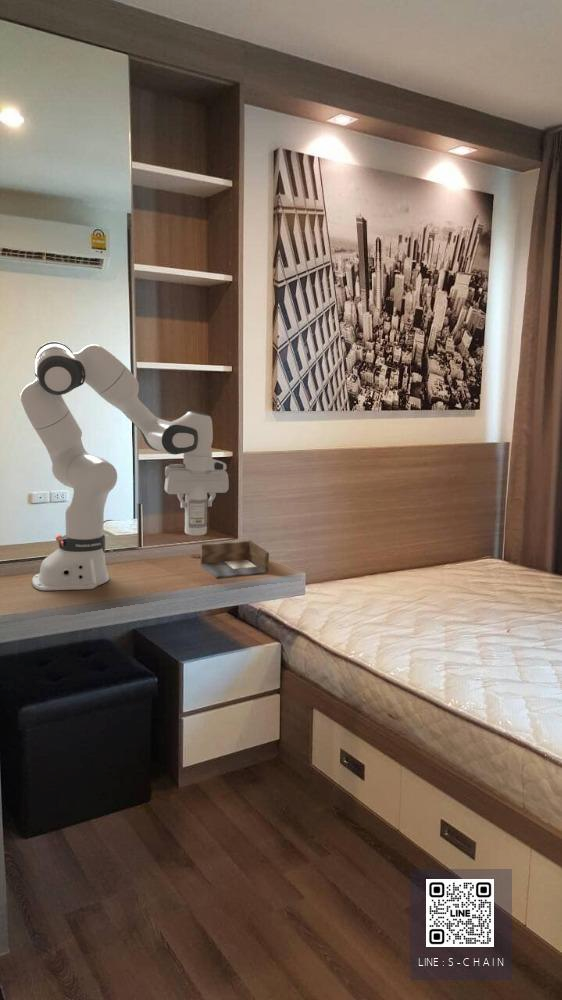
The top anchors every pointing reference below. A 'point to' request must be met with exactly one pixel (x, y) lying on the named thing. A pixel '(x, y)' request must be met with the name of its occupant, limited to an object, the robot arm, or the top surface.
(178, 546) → the top surface
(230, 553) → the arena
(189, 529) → the bath foam
